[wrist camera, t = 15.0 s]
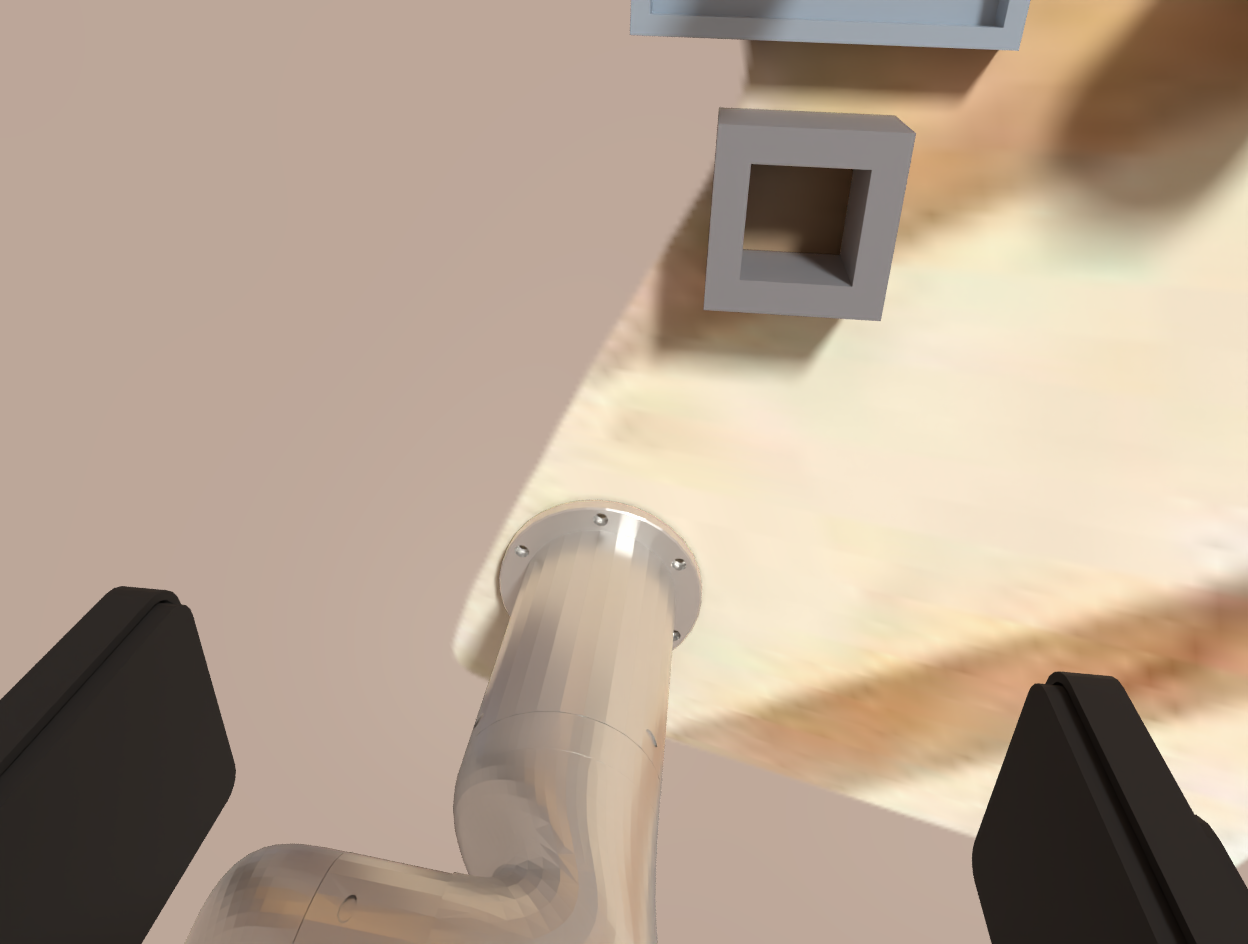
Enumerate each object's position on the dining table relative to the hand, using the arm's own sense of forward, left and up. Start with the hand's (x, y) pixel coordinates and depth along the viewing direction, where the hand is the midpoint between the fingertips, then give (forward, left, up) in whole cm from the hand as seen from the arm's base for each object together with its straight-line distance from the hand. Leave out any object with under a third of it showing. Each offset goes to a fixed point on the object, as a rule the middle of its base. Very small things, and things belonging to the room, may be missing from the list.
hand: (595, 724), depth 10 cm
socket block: (-2, -5, -36) cm, 37 cm away
